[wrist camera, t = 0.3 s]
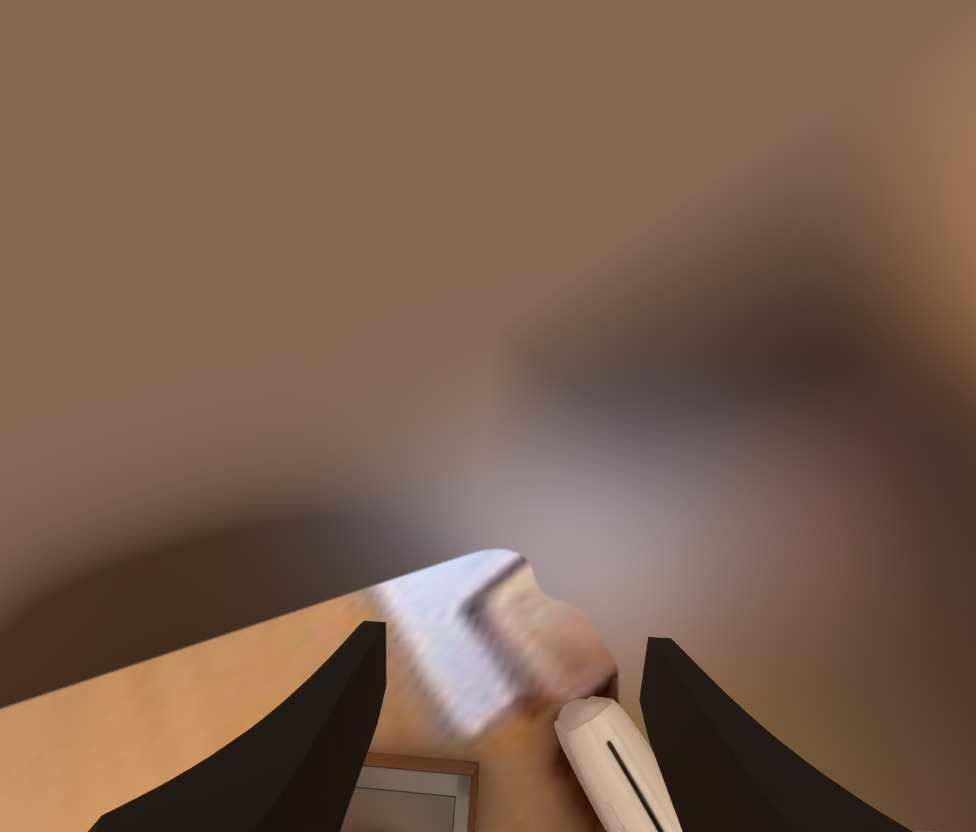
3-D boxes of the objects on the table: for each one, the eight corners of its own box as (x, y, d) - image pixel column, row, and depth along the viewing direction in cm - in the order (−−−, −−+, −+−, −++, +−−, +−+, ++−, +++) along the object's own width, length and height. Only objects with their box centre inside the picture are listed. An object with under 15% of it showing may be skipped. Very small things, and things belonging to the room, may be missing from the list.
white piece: (677, 834, 33) (756, 903, 22) (627, 874, 32) (684, 966, 21) (590, 686, 38) (620, 684, 27) (544, 718, 37) (557, 728, 26)
